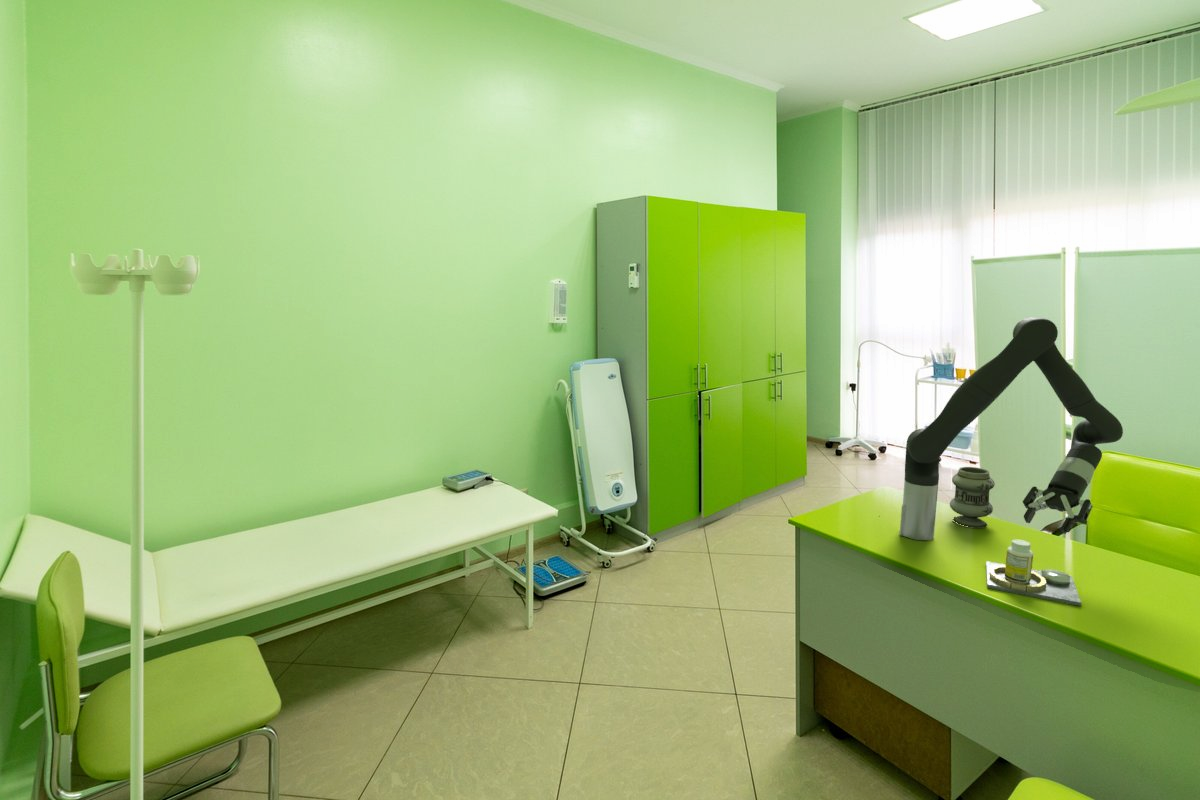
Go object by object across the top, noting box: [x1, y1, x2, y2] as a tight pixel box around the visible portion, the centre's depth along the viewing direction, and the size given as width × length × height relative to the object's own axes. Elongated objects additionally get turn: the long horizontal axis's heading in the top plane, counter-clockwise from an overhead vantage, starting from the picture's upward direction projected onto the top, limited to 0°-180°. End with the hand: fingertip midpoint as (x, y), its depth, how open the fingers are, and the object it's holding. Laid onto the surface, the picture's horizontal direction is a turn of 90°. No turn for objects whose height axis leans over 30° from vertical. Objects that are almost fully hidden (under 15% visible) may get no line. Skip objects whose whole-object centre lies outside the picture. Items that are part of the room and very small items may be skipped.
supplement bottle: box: [1005, 539, 1034, 584], centre depth 158 cm, size 6×6×10 cm
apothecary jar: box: [949, 466, 995, 529], centre depth 199 cm, size 12×12×18 cm
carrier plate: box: [985, 560, 1082, 607], centre depth 158 cm, size 19×16×2 cm
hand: (1044, 526), depth 162 cm, fingers open, 8 cm apart
